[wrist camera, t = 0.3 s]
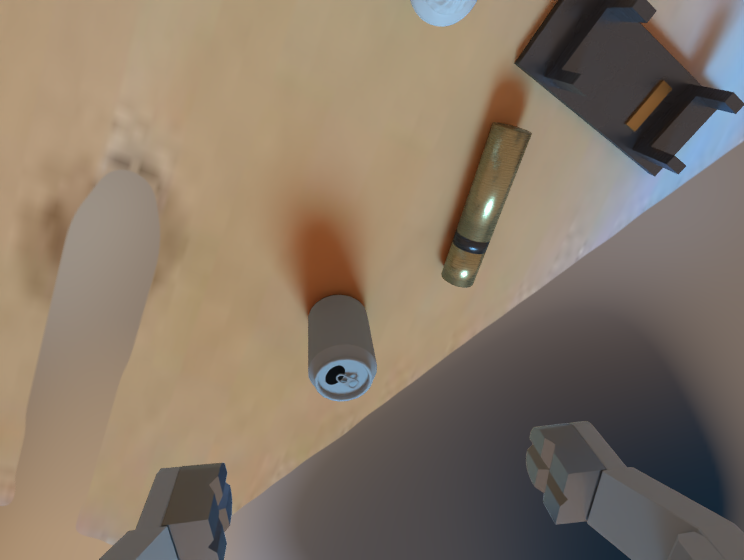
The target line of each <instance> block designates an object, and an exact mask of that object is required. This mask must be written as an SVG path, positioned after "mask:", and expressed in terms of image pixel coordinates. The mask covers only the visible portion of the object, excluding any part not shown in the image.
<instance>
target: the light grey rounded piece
mask: <svg viewBox="0 0 744 560" xmlns="http://www.w3.org/2000/svg"><path fill="white" fill-rule="evenodd" d="M410 1H411V4H412V6H413V8H414V10H415V12H416V13H417V15H418V16H419V17H420V18H421V19H422V20H424V21H425V22H427V23H429V24H431V25H434V26H449V25H452V24H454V23H457V22H458V21H460V20H461V19H463V18H464V17H465V16H466V15H467V14H468V13H469V12H470V11H471V9H472V8H473V7H474V5H475V3H476V2H477V0H410Z"/></svg>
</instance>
